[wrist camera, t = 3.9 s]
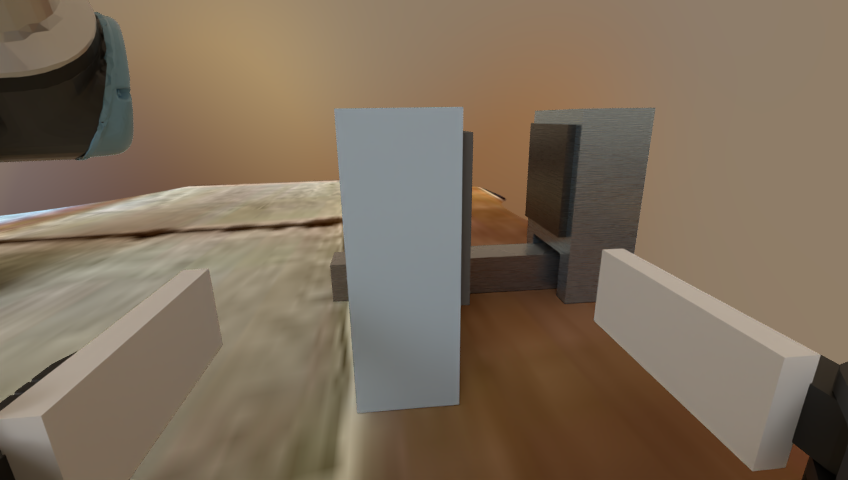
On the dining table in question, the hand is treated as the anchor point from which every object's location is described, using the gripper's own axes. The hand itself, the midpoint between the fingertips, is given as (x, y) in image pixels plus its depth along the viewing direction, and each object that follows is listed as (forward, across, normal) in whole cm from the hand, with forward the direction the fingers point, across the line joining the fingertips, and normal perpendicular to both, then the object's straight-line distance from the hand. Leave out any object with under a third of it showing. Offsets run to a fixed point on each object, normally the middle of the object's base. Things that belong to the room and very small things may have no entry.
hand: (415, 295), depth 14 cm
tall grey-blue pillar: (+8, 0, -8) cm, 11 cm away
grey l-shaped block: (+18, +6, -8) cm, 21 cm away
